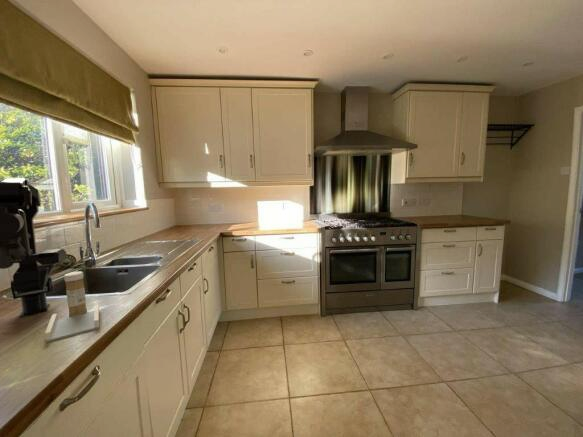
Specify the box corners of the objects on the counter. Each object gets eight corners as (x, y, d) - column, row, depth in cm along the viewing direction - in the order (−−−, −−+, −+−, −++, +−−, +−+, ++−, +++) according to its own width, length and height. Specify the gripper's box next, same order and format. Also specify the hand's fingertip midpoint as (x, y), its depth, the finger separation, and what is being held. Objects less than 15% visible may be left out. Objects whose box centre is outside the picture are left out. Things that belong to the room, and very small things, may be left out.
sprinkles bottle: (82, 309, 84) (78, 270, 82) (89, 311, 82) (85, 272, 80) (65, 315, 80) (61, 274, 78) (72, 318, 77) (68, 276, 76)
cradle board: (53, 322, 75) (52, 314, 75) (99, 311, 81) (98, 304, 81) (45, 342, 65) (44, 333, 64) (99, 328, 71) (98, 319, 71)
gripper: (-77, 241, 50) (-64, 314, 52) (45, 234, 58) (52, 298, 60) (-35, 233, 60) (-26, 294, 62) (64, 228, 68) (70, 282, 70)
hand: (18, 292), depth 63 cm, fingers open, 9 cm apart
